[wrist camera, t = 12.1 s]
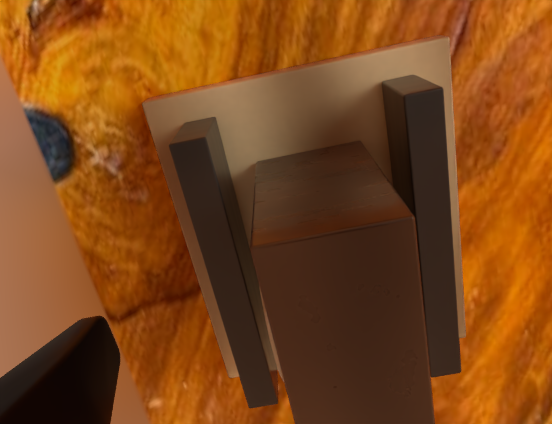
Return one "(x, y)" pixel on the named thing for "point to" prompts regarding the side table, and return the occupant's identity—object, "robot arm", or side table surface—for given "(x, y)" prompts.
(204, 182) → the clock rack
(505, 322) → the side table surface
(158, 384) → the side table surface
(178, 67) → the side table surface
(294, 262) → the dark brown block
